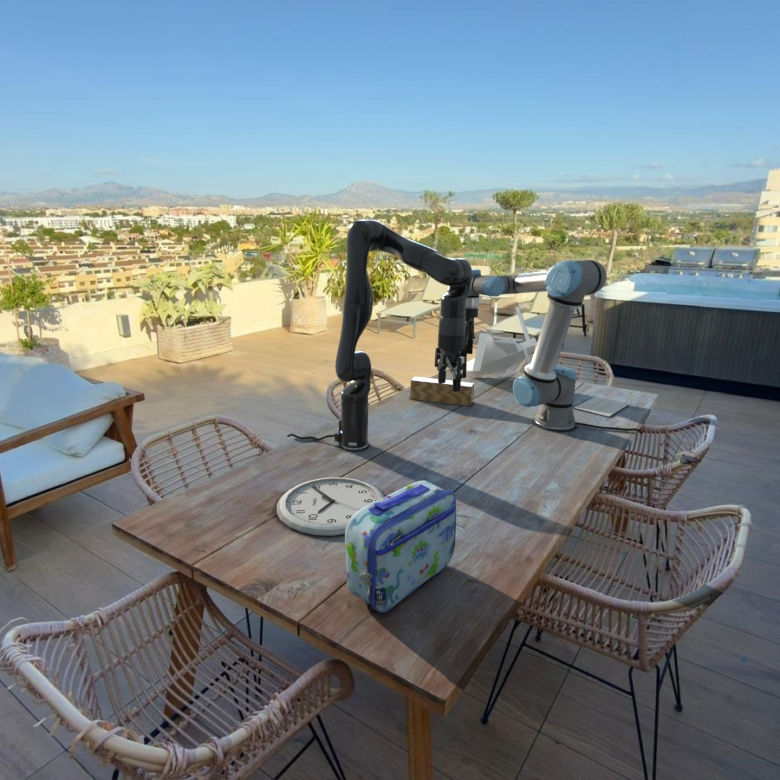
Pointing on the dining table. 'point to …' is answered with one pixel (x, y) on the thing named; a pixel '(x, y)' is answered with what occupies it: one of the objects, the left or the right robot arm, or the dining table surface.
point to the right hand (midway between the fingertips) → (466, 357)
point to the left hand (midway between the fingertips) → (448, 387)
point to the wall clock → (325, 504)
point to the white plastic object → (500, 353)
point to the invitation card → (601, 406)
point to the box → (441, 391)
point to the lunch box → (399, 543)
